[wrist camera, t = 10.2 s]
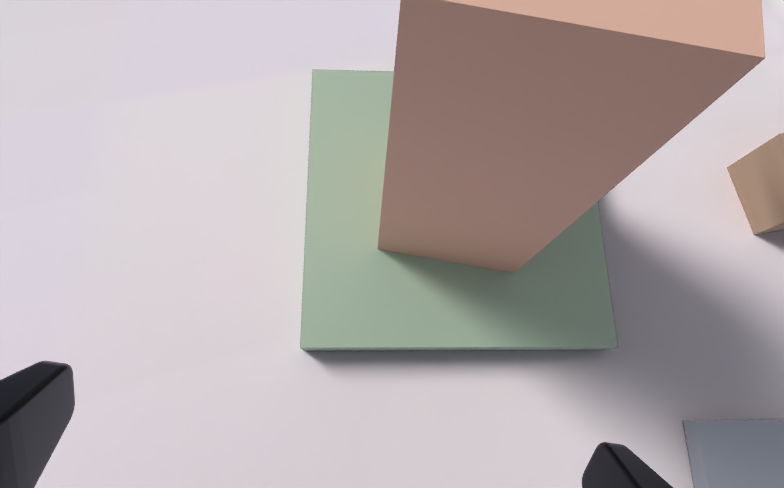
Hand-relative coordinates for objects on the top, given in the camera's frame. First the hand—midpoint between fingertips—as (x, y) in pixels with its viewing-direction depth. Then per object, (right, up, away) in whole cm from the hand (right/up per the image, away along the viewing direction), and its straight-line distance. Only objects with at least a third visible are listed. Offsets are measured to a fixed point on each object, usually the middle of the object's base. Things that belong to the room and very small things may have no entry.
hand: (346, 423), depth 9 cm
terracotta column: (+3, +5, +10) cm, 12 cm away
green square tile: (+3, +4, +11) cm, 13 cm away
